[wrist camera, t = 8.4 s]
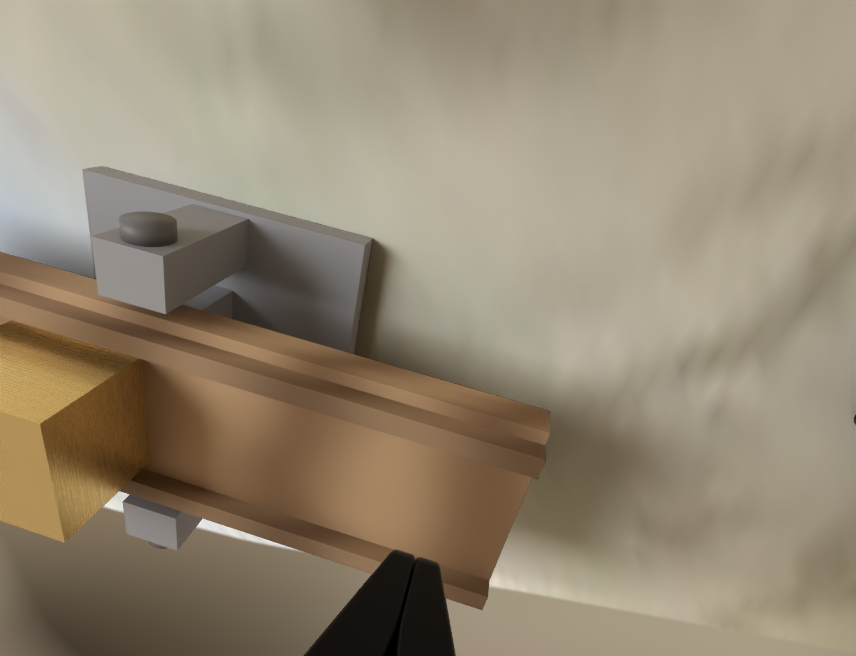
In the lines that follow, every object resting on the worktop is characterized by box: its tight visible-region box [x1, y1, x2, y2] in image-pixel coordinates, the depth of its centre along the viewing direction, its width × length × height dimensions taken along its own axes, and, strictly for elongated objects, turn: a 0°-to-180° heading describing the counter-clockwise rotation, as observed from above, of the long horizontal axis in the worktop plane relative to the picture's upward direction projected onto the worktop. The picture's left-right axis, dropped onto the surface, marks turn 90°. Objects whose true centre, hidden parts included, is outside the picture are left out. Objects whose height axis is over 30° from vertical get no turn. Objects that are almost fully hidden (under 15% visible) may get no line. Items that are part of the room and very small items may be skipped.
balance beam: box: [0, 252, 550, 610], centre depth 19 cm, size 28×9×2 cm, turn 78°
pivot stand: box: [82, 166, 373, 551], centre depth 21 cm, size 12×15×6 cm
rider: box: [0, 320, 150, 543], centre depth 17 cm, size 5×5×4 cm
